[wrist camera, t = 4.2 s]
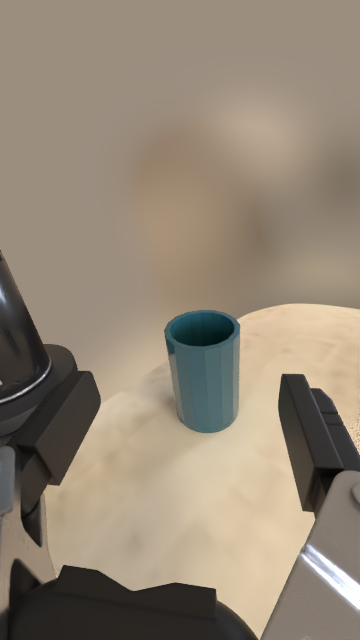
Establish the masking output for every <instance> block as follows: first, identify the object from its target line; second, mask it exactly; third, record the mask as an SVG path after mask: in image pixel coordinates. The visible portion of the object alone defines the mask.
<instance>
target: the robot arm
mask: <svg viewBox="0 0 360 640" xmlns="http://www.w3.org/2000/svg"><path fill="white" fill-rule="evenodd" d="M52 365H53V364H52V361H51V359H50V357H49V355H48V354H47V352H46V350H45V347H44V345H43V343H42V341H41V339H40V336H39V334H38V331H37V329H36V327H35V325H34V323H33V320H32V318H31V316H30V314H29V312H28V310H27V307H26V305H25V303H24V301H23V298H22V296H21V294H20V292H19V290H18V287H17V285H16V283H15V281H14V279H13V276H12V274H11V272H10V270H9V268H8V265H7V263H6V261H5V259H4V257H3V255H2V253H1V250H0V406H1V405H4V404H7V403H10V402H13V401H15V400H17V399H19V398H21V397H23V396H25V395H27V394H28V393H30V392H31V391H33V390H34V389H36V388H37V387H38V386H39V385H40V384H42V383H43V382H44V381H45V379H46V378H47V377H48V376H49V374H50V372H51V370H52ZM100 403H101V399H100V394H99V391H98V388H97V386H96V383H95V380H94V377H93V374H92V373H91V372H90V371H72V372H70V373H69V375H68V376H67V377H66V379H65V380H64V381H63V382H60V383H59V384H58V385H56V386H55V387H54V388H52V389H51V390H50V391H49V392H48V393H47V394H46V396H45V397H44V398H43V399H42V401H41V403H39V404H38V406H37V407H36V408H35V411H33V412H32V413H31V414H30V416H29V417H28V418H27V419H26V421H25V422H24V423H23V424H22V426H21V427H20V428H19V429H18V431H17V432H16V433H15V435H14V436H13V437H12V438H11V440H10V441H9V442H8V443H7V444H6V446H1V447H0V640H258V638H257V637H256V635H255V634H254V633H253V632H252V630H251V629H250V628H249V627H248V625H247V624H246V623H245V622H244V621H243V620H242V619H241V618H240V617H239V616H238V615H237V614H236V613H235V612H234V611H232V610H231V609H230V608H229V607H227V606H226V605H224V604H223V603H221V602H219V601H217V596H216V589H213V588H207V587H201V586H194V585H188V584H182V583H170V584H166V585H161V586H156V587H152V588H147V589H142V590H138V591H131V590H129V589H127V588H125V587H124V586H122V585H121V584H119V583H117V582H116V581H114V580H113V579H111V578H109V577H108V576H106V575H105V574H103V573H101V572H100V571H98V570H93V569H86V568H80V567H74V566H67V565H63V567H62V569H61V572H60V574H59V577H58V578H56V576H55V571H54V567H53V563H52V561H51V558H50V555H49V550H48V537H47V522H46V507H45V496H44V493H43V491H44V490H45V488H46V486H47V485H58V486H59V485H60V484H61V482H62V480H63V478H64V476H65V474H66V472H67V470H68V468H69V466H70V464H71V462H72V460H73V459H74V457H75V455H76V453H77V451H78V449H79V447H80V445H81V443H82V441H83V439H84V437H85V435H86V433H87V432H88V430H89V428H90V426H91V424H92V422H93V420H94V418H95V416H96V414H97V412H98V410H99V408H100ZM278 410H279V417H280V422H281V426H282V430H283V434H284V438H285V442H286V446H287V450H288V454H289V458H290V462H291V466H292V470H293V474H294V478H295V482H296V486H297V490H298V494H299V498H300V502H301V506H302V510H303V511H308V512H314V515H315V519H316V520H315V522H314V525H313V527H312V529H311V531H310V534H309V536H308V538H307V540H306V542H305V544H304V546H303V547H302V549H301V551H300V553H299V555H298V557H297V559H296V561H295V563H294V565H293V568H292V570H291V572H290V574H289V577H288V579H287V581H286V583H285V585H284V588H283V590H282V592H281V594H280V596H279V599H278V601H277V603H276V605H275V608H274V610H273V612H272V614H271V616H270V619H269V621H268V623H267V625H266V627H265V630H264V632H263V634H262V636H261V639H260V640H360V455H359V453H358V451H357V449H356V447H355V445H354V443H353V441H352V439H351V437H350V435H349V433H348V431H347V429H346V427H345V426H344V425H343V421H342V419H341V417H340V415H338V411H337V409H336V407H335V405H334V403H333V401H332V399H331V398H329V397H328V396H327V395H326V394H325V393H324V392H323V391H322V390H321V389H318V388H310V387H309V384H308V382H307V380H306V377H305V376H304V375H303V374H282V376H281V384H280V392H279V400H278Z"/></svg>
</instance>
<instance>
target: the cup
mask: <svg viewBox="0 0 360 640" xmlns="http://www.w3.org/2000/svg"><path fill="white" fill-rule="evenodd" d="M164 332H165V338H166V345H167V351H168V357H169V364H170V370H171V377H172V383H173V390H174V396H175V402H176V408H177V413H178V416H179V418H180V420H181V421H182V422H183V423H184V424H185V425H186V426H187V427H189V428H190V429H192V430H195V431H198V432H203V433H213V432H218V431H221V430H223V429H225V428H227V427H228V426H230V425H231V424H232V423H233V422H234V420H235V419H236V417H237V414H238V406H239V359H240V324H239V323H238V322H237V320H236V319H235V318H234V317H232V316H230V315H228V314H226V313H223V312H218V311H213V310H198V311H192V312H187V313H184V314H182V315H179V316H177V317H175V318H174V319H173V320H171V321H170V322H169V323H168V324H167V326H166V328H165V330H164Z"/></svg>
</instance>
